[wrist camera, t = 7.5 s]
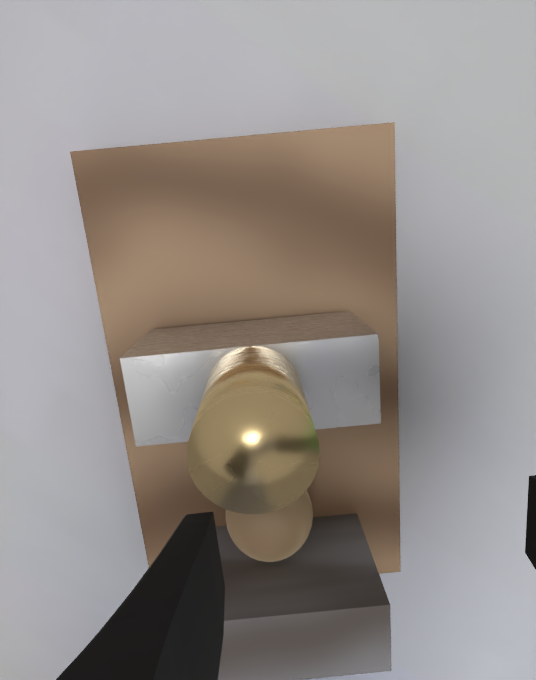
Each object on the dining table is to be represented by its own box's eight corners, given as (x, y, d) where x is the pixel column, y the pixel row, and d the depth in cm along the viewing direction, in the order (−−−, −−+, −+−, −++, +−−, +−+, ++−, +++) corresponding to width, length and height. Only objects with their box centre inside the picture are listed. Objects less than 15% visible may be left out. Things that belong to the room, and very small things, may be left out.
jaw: (353, 381, 18) (429, 498, 10) (162, 399, 18) (89, 530, 10) (350, 311, 17) (430, 377, 9) (150, 329, 17) (62, 411, 9)
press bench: (390, 549, 22) (445, 675, 16) (161, 571, 22) (122, 707, 16) (382, 131, 17) (456, 72, 11) (85, 158, 17) (-14, 114, 11)
